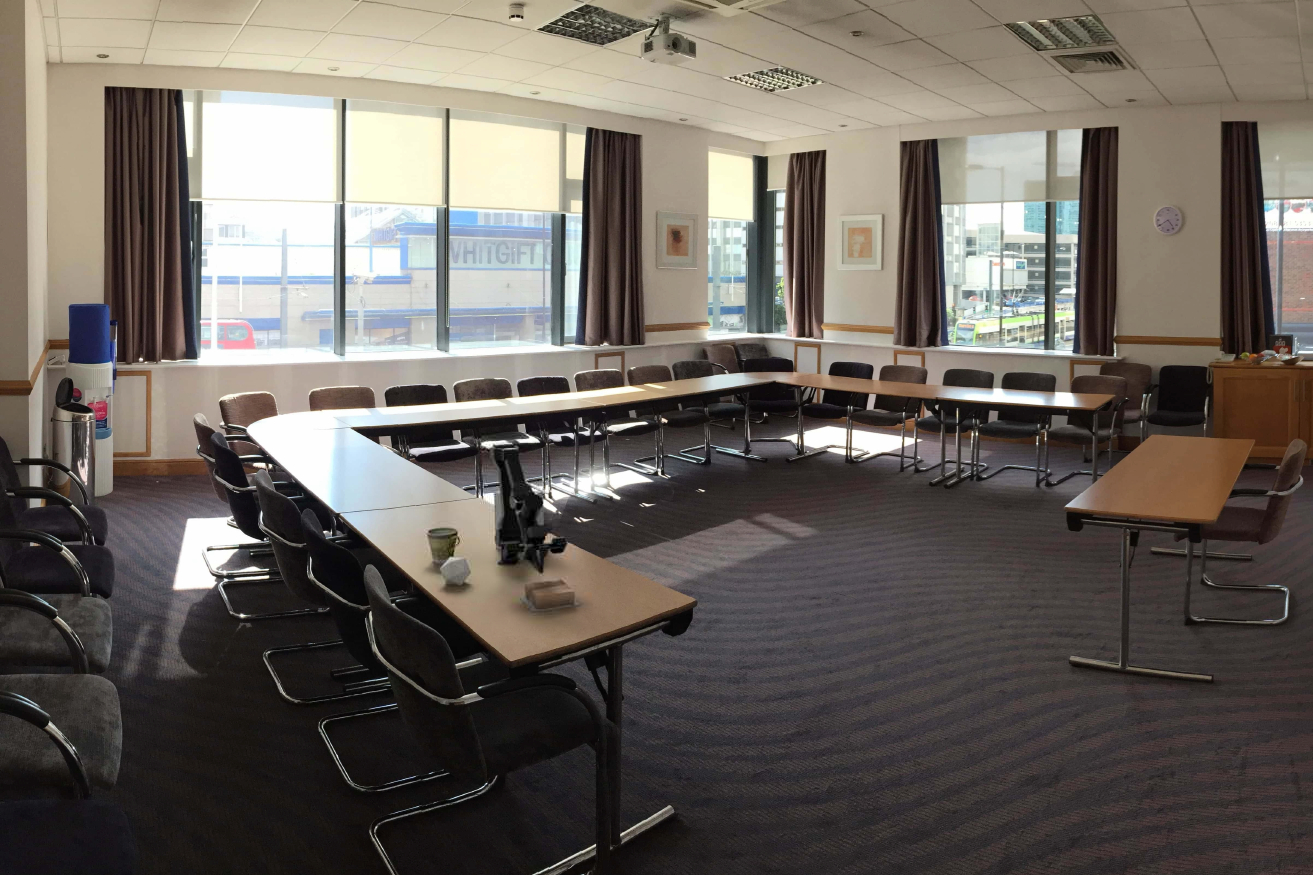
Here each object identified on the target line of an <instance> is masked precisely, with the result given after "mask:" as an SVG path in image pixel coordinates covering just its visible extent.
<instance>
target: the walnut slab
mask: <svg viewBox="0 0 1313 875" xmlns="http://www.w3.org/2000/svg"><path fill="white" fill-rule="evenodd" d="M524 598H526V599H527V600H528V601H529V602H530V603H531V604H532V605H533V606H534V607H535V608H536V609H537V610H540V609H547V608H554V607H560V606H567V605H574V599H575V590H574V589H573V588H571V587H570V586H569V585H568V584H567V583H566V582H565V581H563V580H562V579H561V578H557V579H550V580H543V581H537V582H536V581H535V582H527V583H524Z"/></svg>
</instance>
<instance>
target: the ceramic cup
mask: <svg viewBox="0 0 1313 875" xmlns="http://www.w3.org/2000/svg"><path fill="white" fill-rule="evenodd" d="M458 534H459V530H458V529H457V528H455V527H447V526H444V527H443V526H440V527H434V528H430V529H428V530H427V531H426V535H427V540H428V545H429V548H430V552H431V558H432V562H434V563H437V564H444V563H445V562H446V561H447V560H448V559H449V557H455V549H456V547H457V546H459V545H460V543H461V539H460V536H458Z"/></svg>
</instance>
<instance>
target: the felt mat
mask: <svg viewBox="0 0 1313 875" xmlns="http://www.w3.org/2000/svg"><path fill="white" fill-rule="evenodd" d="M519 599H520V600H521V601H522V602H523V603H524V605H525V606H526V607H527V608H528V609H529V610H530V611H531V612H532V613H537V612H544V611H550V610H551V611H552V610H558V609H565V608H573V607H578V606H579V607H580V606H581V604H580V603H579V602H578V601H577V600H576V599H575V598H574V605H567V606H560V607H554V608H547V609H540V610H537V609H536V608H535V607H534V606H533V605H532V604H531V603H530V602H529V601H528V600H527V599H526V598H525V597H520V598H519Z"/></svg>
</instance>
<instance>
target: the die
mask: <svg viewBox="0 0 1313 875" xmlns="http://www.w3.org/2000/svg"><path fill="white" fill-rule="evenodd" d="M439 571H440V573H441V576H442V578H443V581H444V582H445V584H446V585H455V586H463V584H464V583H465V581H466V580H467V579H468V578H469V576H470V575H471V574H472V571H471V569H470V566H469V564H468V561H467V560H466V558H465V557H464V558H463V557H455V556H454V557H449V559H448V560H447V561H446V562H445V563H443V564H442V566H441V567H440V568H439Z"/></svg>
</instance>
